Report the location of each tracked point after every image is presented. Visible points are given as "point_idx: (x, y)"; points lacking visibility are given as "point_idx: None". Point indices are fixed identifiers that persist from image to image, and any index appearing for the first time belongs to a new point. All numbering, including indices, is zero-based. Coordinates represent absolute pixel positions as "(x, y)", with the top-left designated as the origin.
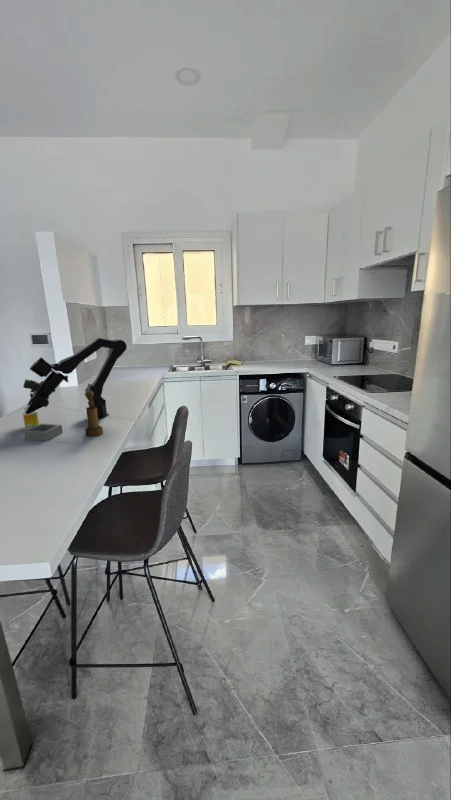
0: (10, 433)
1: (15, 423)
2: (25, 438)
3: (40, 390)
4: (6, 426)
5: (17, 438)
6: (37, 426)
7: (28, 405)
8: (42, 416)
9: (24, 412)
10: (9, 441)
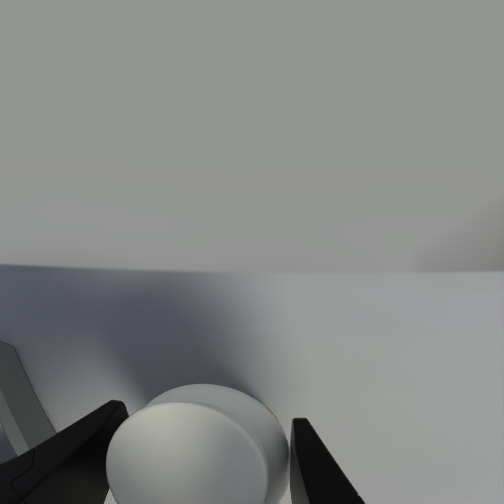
0: (174, 293)
1: (421, 327)
2: (7, 346)
3: None
4: (374, 273)
5: (53, 318)
6: (3, 425)
7: (210, 480)
8: (489, 489)
9: (164, 398)
10: (41, 278)
